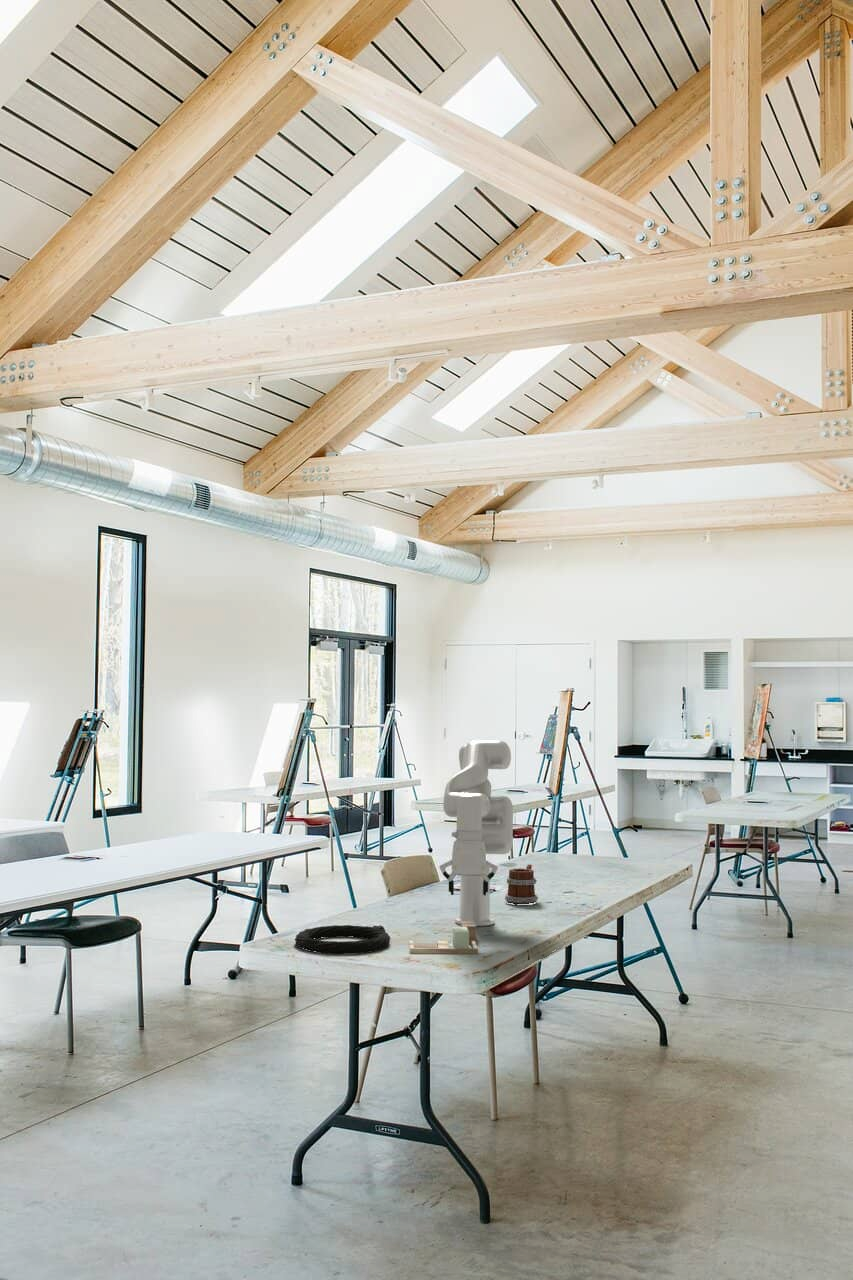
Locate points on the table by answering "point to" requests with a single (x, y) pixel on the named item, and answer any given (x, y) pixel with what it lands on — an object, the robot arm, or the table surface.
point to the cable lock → (374, 933)
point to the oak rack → (441, 947)
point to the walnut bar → (470, 929)
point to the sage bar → (460, 937)
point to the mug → (521, 886)
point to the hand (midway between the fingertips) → (468, 894)
